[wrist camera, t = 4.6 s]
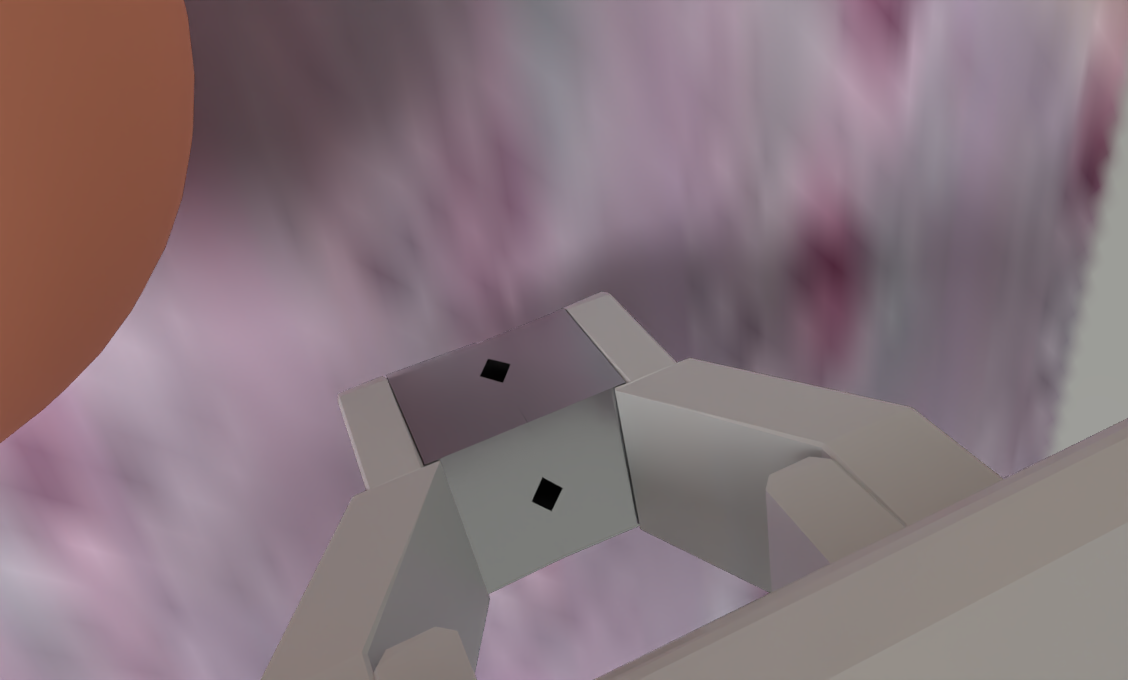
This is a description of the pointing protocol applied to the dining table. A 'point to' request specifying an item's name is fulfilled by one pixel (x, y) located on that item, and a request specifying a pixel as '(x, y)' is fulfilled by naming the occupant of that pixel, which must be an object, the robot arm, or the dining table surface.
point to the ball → (83, 179)
